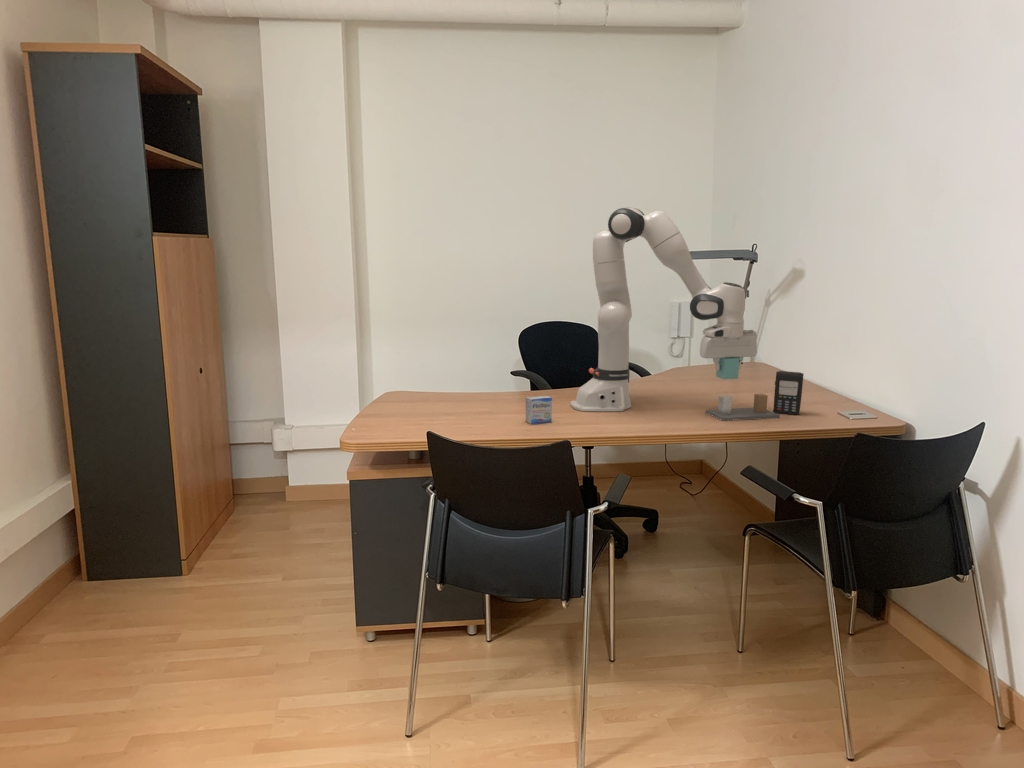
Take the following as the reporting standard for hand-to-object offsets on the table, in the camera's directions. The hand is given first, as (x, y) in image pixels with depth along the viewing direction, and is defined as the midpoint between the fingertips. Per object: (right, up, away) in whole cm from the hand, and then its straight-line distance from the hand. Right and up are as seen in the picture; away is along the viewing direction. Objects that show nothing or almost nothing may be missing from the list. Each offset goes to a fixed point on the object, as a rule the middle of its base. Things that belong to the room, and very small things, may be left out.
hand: (727, 370), depth 250 cm
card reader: (+23, -16, +8) cm, 29 cm away
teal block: (0, -3, +1) cm, 3 cm away
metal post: (0, -16, +3) cm, 17 cm away
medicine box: (-66, -18, -6) cm, 68 cm away
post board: (+7, -16, +5) cm, 18 cm away
